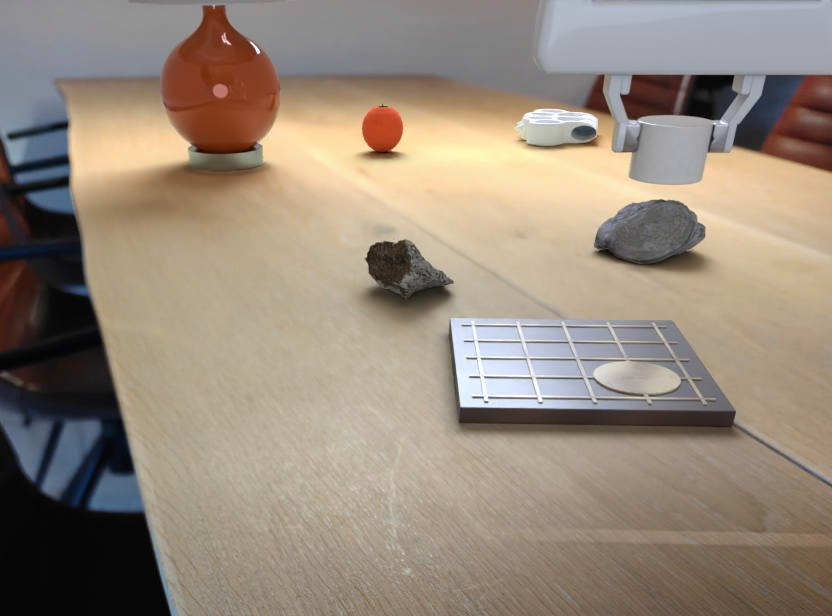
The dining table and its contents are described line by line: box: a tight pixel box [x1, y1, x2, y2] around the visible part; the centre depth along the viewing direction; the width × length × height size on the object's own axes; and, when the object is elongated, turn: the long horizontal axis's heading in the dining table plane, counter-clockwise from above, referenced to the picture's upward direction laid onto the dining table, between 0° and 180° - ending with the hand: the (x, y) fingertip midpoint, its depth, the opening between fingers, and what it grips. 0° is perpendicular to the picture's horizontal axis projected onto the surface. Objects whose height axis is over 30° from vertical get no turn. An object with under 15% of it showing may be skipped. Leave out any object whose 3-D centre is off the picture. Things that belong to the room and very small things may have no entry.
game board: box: [448, 317, 737, 427], centre depth 74 cm, size 20×20×1 cm
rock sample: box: [364, 238, 455, 299], centre depth 91 cm, size 10×8×9 cm
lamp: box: [127, 0, 296, 171], centre depth 135 cm, size 25×25×39 cm
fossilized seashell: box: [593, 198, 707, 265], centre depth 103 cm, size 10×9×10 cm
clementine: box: [361, 103, 404, 153], centre depth 152 cm, size 8×7×7 cm
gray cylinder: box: [627, 114, 714, 186], centre depth 62 cm, size 5×5×4 cm
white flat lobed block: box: [513, 108, 599, 147], centre depth 163 cm, size 3×18×15 cm
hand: (670, 151), depth 62 cm, fingers closed on gray cylinder, 5 cm apart
